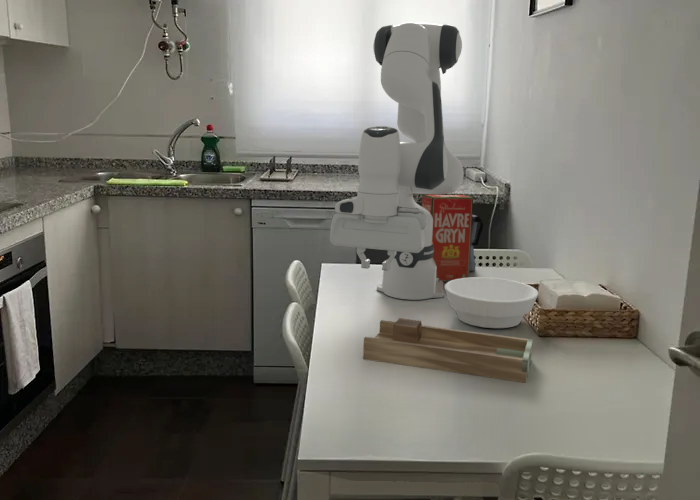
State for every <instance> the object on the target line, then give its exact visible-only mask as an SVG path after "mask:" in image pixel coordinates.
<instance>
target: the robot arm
mask: <svg viewBox="0 0 700 500" xmlns="http://www.w3.org/2000/svg"><path fill="white" fill-rule="evenodd" d="M374 36H375V37H374V40H373V54H374V57H375V61H376V62H377V63H378V64H379V66H381V68H380V85H381V86H382V90H383V91H384V92H385V93H386V95H387V96H388V97H389V98H390V99H392V101H394V102H396V103H397V104H398V106H397V120H396V121H397V122H396V123H397V127H398V129H396V128H395V127H391V126H386V125H377V126H371V127H368V128H366V129H364V130H363V131H362V134H361V140H360V145H359V153H358V162H357V170H358V171H357V172H358V174H359V175H358V176H359V183H358V187H357V196H351V197H349V198H345V199H342V200H339V201H338V202H337V203H335V205H334V211H335V212H336V213H335V214H334V215H333V216H332V219H331V223H330V224H331V225H330V231H329V232H330V233H329V240H330V243H331V245H333V246H337V247H338V246H339V247H340V246H341V247H348V248H350V247H351V248H356V254H357V256H358V258H359V260H360V261H361V262H360V263H361V265H360V267H361V269H368V270H369V269H370V267H371V264H370V263H371V259H369V258H367V256H366V254H365V253H364V252H365V251H366V249H368V250H369V249H371V250H381V251H387V256H388V257H389V258H387V259H386V260H384V261H383V262H381V266H382V267H381V270H382V271H383V272H382V281H381V284H379V285H377V286H376V290H377V291H379V292H382V293H384V294H385V295H386V296H389V297H392V298H395V299H400V300H401V299H402V300H413V301H414V300H415V301H416V300H417V301H418V300H427V299H432V298H435V299H436V298H443V297H444V281H441V280H439V278H436V270H437V266H436V263H435V261H434V259H433V256H434V248H433V242H432V235H433V217H432V215H431V214H430V212H429V211H428V210H426V209H425V208H423V207H422V205H420V204H419V203H417V202H416V201H415V199H414V194H421V195H448V194H453V193H455V192H456V191H457V190H458V189H459V188H460V187H461V186H462V183H463V179H464V175H465V174H464V167H463V164H462V163H461V161H460V160H459V158H458V157H457V156H456V155H454V154H453V153H452V152H451V151H450V149H449V148H448V147H447V145H446V143H445V135H444V123H443V122H444V119H443V105H442V86H441V85H442V84H441V73H442V75H444V74H446V72H447V70H449V69H451V68H454V66H455V65H456V64H457V63H458V61H459V58H460V56H461V54H462V51H463V50H462V49H463V42H462V37H461V34H460V31H459V29H458V28H457V27H456V26H454V25H452V24H446V23H443V24H437V23H429V22H413V21H407V22H403V23H400V24H397V25H394V24H388V25H384V26H381V27H380V28H379V29H378V30H377V32H376V33H375V35H374ZM440 69H441V70H440ZM440 71H441V72H440ZM400 132H401V134H403V135H404V136H405V137H407V138H409V139H410V140H413V141H401V139H400Z"/></svg>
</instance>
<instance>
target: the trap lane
mask: <svg viewBox="0 0 700 500" xmlns="http://www.w3.org/2000/svg"><path fill="white" fill-rule="evenodd" d="M395 322H396V321H391V320H383V319H381V320H380V321H379V332H378V333H377V334H376V335H375V337H371V336H365V337H363V353H362V355H363V357H362V359H363V360H367V361H368V360H369V361H377V362H381V363H382V362H383V363H388V364H396V365H402V366H409V367H410V366H411V367H417V368H423V369H431V370H439V371H445V372H450V373H456V374H457V373H458V374H463V375H464V374H465V375H471V376H477V377H486V378H490V379H491V378H492V379H499V380H505V381H511V382H520V383H527V378H528V375H529V370H530V366H531V363H532V353H533V344H534V343H533V342H534V339H532V338H525V337H524V338H523V337H517V336H511V335H510V336H507V335H501V334H492V333H487V332H485V333H484V332H476V331H470V330H463V329H462V330H461V329H452V328H446V327H438V326H437V327H436V326H431V325H430V326H429V325H424V324H423V325H422V324H421V339H420V340H419V342H418V343H417V344H415V343H407V342H400V341H393V325H394V324H395Z"/></svg>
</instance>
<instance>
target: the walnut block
mask: <svg viewBox="0 0 700 500" xmlns="http://www.w3.org/2000/svg"><path fill="white" fill-rule="evenodd" d="M394 322H395V324H394V325H393V341H400V342H407V343H415V344H417V343H418V342H419V340H420V339H421V325H422V320H419V319H409V318H401V317H399V318H398V319H397V320H396V321H394Z"/></svg>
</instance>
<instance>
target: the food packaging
mask: <svg viewBox="0 0 700 500" xmlns="http://www.w3.org/2000/svg"><path fill="white" fill-rule="evenodd" d="M421 195H422V196H421V207H423V208H425V209H426V210H428V211H429V212H430V214H431V215H432V217H433V235H432V242H433V248H434V256H433V259H434V261H435V263H436V266H437V270H436V278H439V280H441V281H443V282H449V281H451V280H455V279H460V278H468V277H470V271H469V265H470V248H471V229H472V215H473V211H474V210H473V209H474V208H473V207H474V197H473V196H470V195H465V194H439V195H435V194H421Z"/></svg>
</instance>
